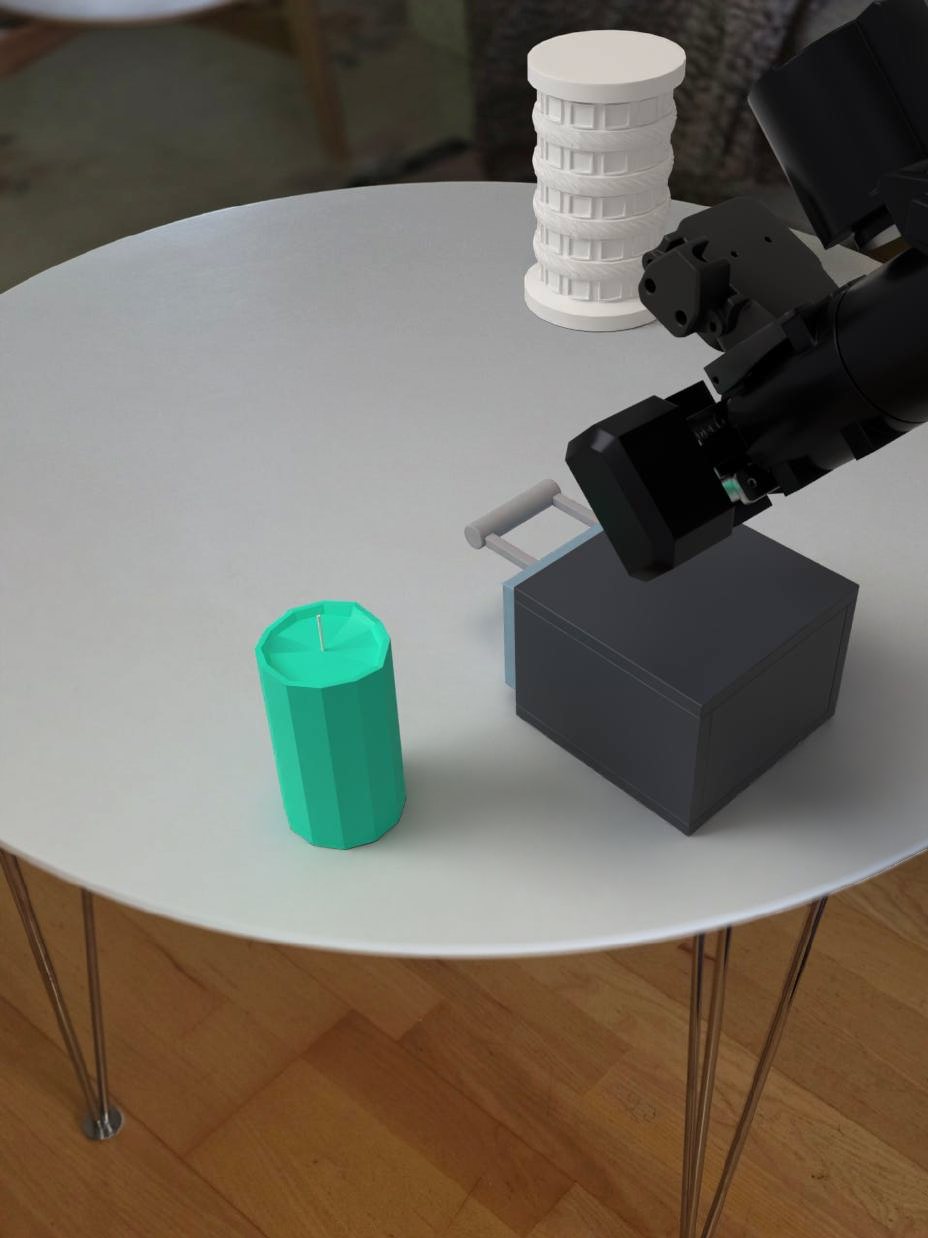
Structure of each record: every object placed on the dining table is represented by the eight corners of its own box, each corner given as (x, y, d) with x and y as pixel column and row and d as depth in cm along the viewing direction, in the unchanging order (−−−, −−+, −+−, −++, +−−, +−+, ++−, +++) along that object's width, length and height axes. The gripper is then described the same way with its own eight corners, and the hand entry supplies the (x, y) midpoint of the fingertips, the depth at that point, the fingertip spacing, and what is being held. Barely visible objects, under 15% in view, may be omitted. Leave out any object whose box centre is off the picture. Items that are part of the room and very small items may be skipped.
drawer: (438, 637, 74) (431, 538, 70) (570, 553, 80) (571, 455, 75) (657, 789, 66) (665, 686, 61) (790, 683, 71) (806, 581, 66)
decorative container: (515, 267, 110) (511, 34, 98) (657, 255, 110) (671, 22, 98) (535, 337, 101) (534, 91, 89) (689, 324, 101) (709, 78, 90)
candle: (321, 869, 64) (289, 682, 56) (262, 791, 68) (225, 605, 60) (429, 813, 66) (414, 626, 58) (367, 740, 70) (344, 555, 62)
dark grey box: (515, 714, 71) (513, 586, 65) (662, 611, 77) (671, 485, 71) (688, 837, 64) (702, 706, 59) (835, 714, 70) (860, 584, 65)
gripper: (938, 97, 54) (707, 278, 68) (607, 226, 45) (416, 406, 59) (1074, 342, 54) (816, 474, 68) (772, 521, 45) (542, 634, 59)
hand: (657, 490), depth 63 cm, fingers closed
